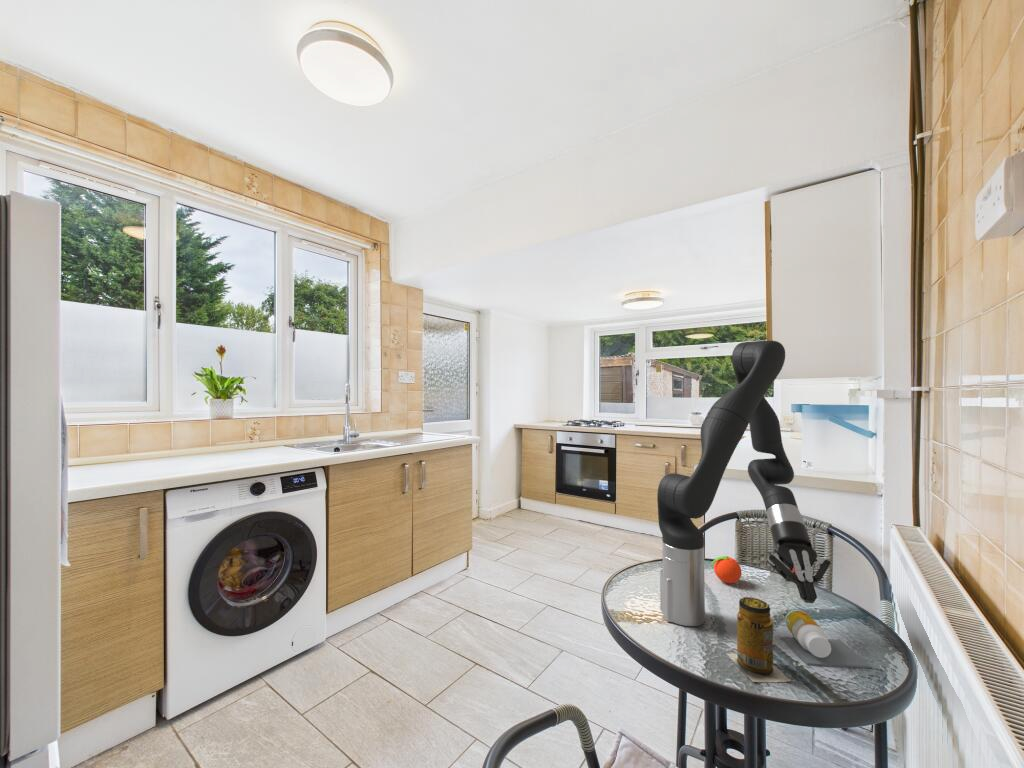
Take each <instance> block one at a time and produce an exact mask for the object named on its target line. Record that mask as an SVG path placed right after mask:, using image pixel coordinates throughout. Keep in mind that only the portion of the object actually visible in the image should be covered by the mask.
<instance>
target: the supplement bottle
mask: <svg viewBox="0 0 1024 768" xmlns="http://www.w3.org/2000/svg"><path fill="white" fill-rule="evenodd" d="M785 626H786V627H787V629H788V631H789V632H790V633H791V635H792V637H795V638H796V640H797V641H798V642H799V644H800V645H801V646H802V647H803V648H804V649H805V650H807V651H809V652H811V653H812V654H813V655H814V656H816V657H820V658H824V657H827V656H828V655H829V654H830V653H831V645H830V643H829V642H828V639H829V638H828V635H827V634H826V632H825V631H824V630H823V628H822V627H821V626H820V625H819V624H818V623H817V621H815V620H814V619H813V618H812V617H811V616H810V614H809V613H807V612H806V611H805V610H800V609H794V610H791V611H789V612H788V613H787V614H786V616H785Z"/></svg>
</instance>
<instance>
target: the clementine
mask: <svg viewBox="0 0 1024 768" xmlns="http://www.w3.org/2000/svg"><path fill="white" fill-rule="evenodd" d="M710 566H713V570H714V573H715V576H716V577H717V578H718V579H719V580H720V581H721V582H723V583H726V584H734V583H737V582H738V581H739V580H740V579H741V577H742V567H741V565H740V563H739V562H738V561H737V560H735V559H734V558H733V557H731V556H719V557H716V558H715V559H714V560H713V561H711V565H710Z"/></svg>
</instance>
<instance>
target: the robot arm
mask: <svg viewBox="0 0 1024 768" xmlns="http://www.w3.org/2000/svg"><path fill="white" fill-rule="evenodd" d="M731 353H732V354H731V363H732V364H731V365H732V369H733V372H734V375H735V378H736V381H737V385H736V386H735V387H733V388H732V389H730V390H729V391H728V392H727V393H725V394H723V396H721V397H719V399H717V400H716V401H715V402H714V403H713V405H712V406H711V407H710V409H709V411H708V412H707V414H706V416H705V418H704V420H703V421H702V423H701V427H700V444H701V456H700V458H699V461H698V463H697V465H696V467H695V469H694V471H693V473H692V474H691V475H690V476H688V475H685V474H681V473H680V474H679V473H675V472H674V473H673V472H672V473H671V472H670V473H667V474H665V475H664V476H663V477H662V478H661V479H660V481H659V484H658V487H657V496H656V497H657V498H656V499H657V500H656V501H657V518H658V527H659V530H660V533H661V536H662V542H661V543H662V545H661V546H662V569H660V570H659V579H660V581H659V593H660V595H659V596H660V597H659V599H660V600H659V601H660V602H659V603H660V605H659V607H660V608H659V609H660V611H661V613H662V615H663V616H664V618H665V620H666V622H668V623H674V624H676V625H681V626H685V627H699V626H701V625H703V624H704V623H705V621H706V608H705V607H706V606H705V605H706V603H705V602H706V601H705V600H706V599H705V597H706V596H705V590H706V588H705V587H706V586H705V535H704V533H703V532H702V531H701V529H699V528H698V526H696V524H695V523H694V521H692V519H694V520H695V519H696V520H697V519H700V518H701V517H703V516H705V515H706V514H707V512H708V511H709V509H710V508H711V506H712V505H713V502H714V500H715V497H716V494H717V492H718V489H719V487H720V484H721V481H722V479H723V476H724V473H725V472H726V469H727V467H728V464H729V463H730V461H731V459H732V457H733V455H734V452H735V450H736V449H737V447H738V445H739V443H740V442H741V440H742V438H743V435H744V434H745V432H746V430H747V428H748V426H749V432H750V439H751V445H752V449H753V450H754V451H755V452H757V453H761V454H767V455H768V454H769V455H773V456H775V457H773V458H772V457H771V458H757V459H753V460H751V461H750V462H749V463H748V465H747V473H748V477H749V478H750V480H751V482H752V484H754V485H753V486H755V488H756V489H757V491H758V492H759V494H760V496H761V497H762V500H763V504H764V506H765V511H766V516H767V522H768V527H769V530H770V533H771V536H772V540H773V544H774V547H775V549H774V553H773V554H769V556H768V557H767V559H766V563H767V564H769V566H771V568H772V569H774V570H775V571H776V572H777V573H778V574H779V575H780V576H781V577H782V578H783V579H785V581H786V582H789V583H790V582H791V583H794V584H795V585H796V587H797V591H798V594H799V598H800V599H801V600H803V601H804V603H806V604H814V603H815V601H816V600H817V598H818V596H817V593H816V590H815V589H816V588H815V586H814V585H817V586H818V584H819V583H820V581H822V579H823V577H824V575H825V574H826V572H827V570H828V569H829V567H830V565H831V561H830V560H829V559H823V558H822V557H820V556H818V553H817V552H816V550H814V548H813V544H812V541H811V539H810V535H809V533H808V530H807V529H808V528H807V527H806V524H805V521H804V518H803V516H802V513H801V511H800V509H799V507H798V504H797V500H796V498H795V497H796V496H795V495H794V492H793V491H792V489H790V488H789V487H787V486H783V485H789V484H791V482H792V481H793V479H794V478H795V472H794V469H793V467H792V464H791V463H790V460H789V458H788V456H787V454H786V450H785V449H784V446H783V445H784V444H783V439H782V433H781V424H780V420H779V418H778V415H777V414H776V412H775V410H774V408H773V407H772V406H771V404H770V403H769V402H768V400H767V399H766V397H765V395H766V394H767V392H768V390H770V389H769V388H771V386H772V385H773V383H774V382H775V380H776V379H777V378H778V376H779V374H780V373H781V371H782V369H783V366H784V365H785V360H786V349H785V347H784V345H783V344H782V343H781V342H779V341H777V340H768V339H767V340H756V341H753V340H752V341H745V342H740V343H738V344H736V345H735V347H734V348H733V351H732V352H731ZM814 563H815V566H816V567H817V571H816V573H815V574H814V575H813V573H812V567H813V565H814Z"/></svg>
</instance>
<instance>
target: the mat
mask: <svg viewBox="0 0 1024 768" xmlns="http://www.w3.org/2000/svg"><path fill="white" fill-rule="evenodd" d="M780 640H782V642H783V643H785V645H786V646H788V647H789V649H790V650H791V651H792V652H793V653H794V654H796V656H797V657H798V658H799V659H800V660H801V661H802V662H803V663H804V664H805V665H806V666H814V667H815V666H817V667H831V668H832V667H837V668H853V669H855V668H856V669H859V668H860V669H873V665H871V664H870V663H869V662H867V660H865V659H864V658H863V657H862V656H861V655H860V654H858V653H857V652H855V651H854V650H853V649H852V648H851V647H849V646H848V645H847V644H846V643H845V642H844V641H842V640H841V639H840V638H839V639H838V638H828V642H829V643H830V645H831V653H830V654H829V655H828V656H827V657H824V658H820V657H816V656H814V655H813V654H812V653H811V652H809V651H807V650H805V649H804V648H803V647H802V646H801V645H800V644H799V642H798V641H797V640H796V638H795V637H794V636H780Z"/></svg>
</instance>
